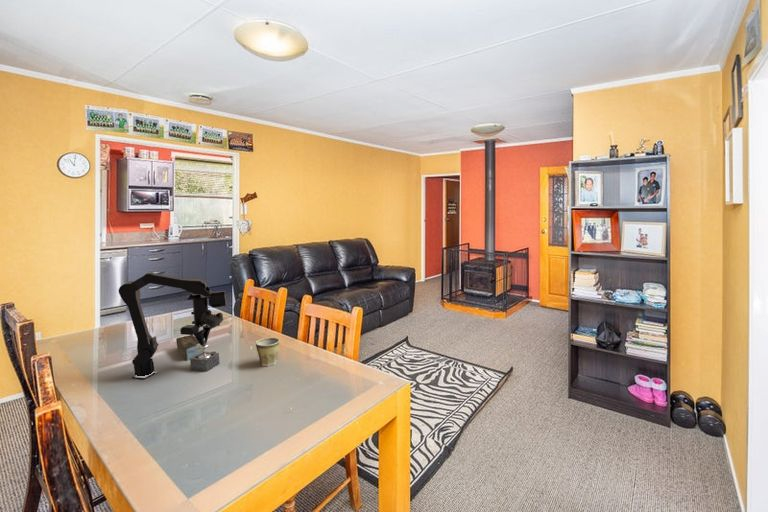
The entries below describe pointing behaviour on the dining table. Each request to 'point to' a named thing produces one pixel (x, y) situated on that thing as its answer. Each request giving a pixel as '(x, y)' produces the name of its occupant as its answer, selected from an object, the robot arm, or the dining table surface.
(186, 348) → the beverage carton
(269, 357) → the ceramic cup
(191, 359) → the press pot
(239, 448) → the dining table surface
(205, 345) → the plunger
